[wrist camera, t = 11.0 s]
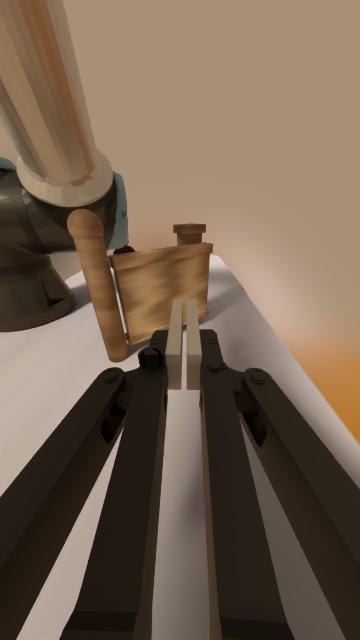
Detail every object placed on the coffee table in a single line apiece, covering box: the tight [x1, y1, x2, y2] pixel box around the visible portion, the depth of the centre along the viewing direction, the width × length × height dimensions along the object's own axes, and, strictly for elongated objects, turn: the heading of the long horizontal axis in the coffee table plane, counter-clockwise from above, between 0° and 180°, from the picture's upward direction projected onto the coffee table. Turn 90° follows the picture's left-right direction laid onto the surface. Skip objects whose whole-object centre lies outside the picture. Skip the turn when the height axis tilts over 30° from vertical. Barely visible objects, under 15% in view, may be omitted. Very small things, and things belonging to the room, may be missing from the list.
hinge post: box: [67, 209, 129, 362], centre depth 20 cm, size 3×3×17 cm
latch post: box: [173, 224, 206, 320], centre depth 29 cm, size 3×3×15 cm
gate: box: [108, 242, 213, 346], centre depth 25 cm, size 14×2×11 cm, turn 124°
